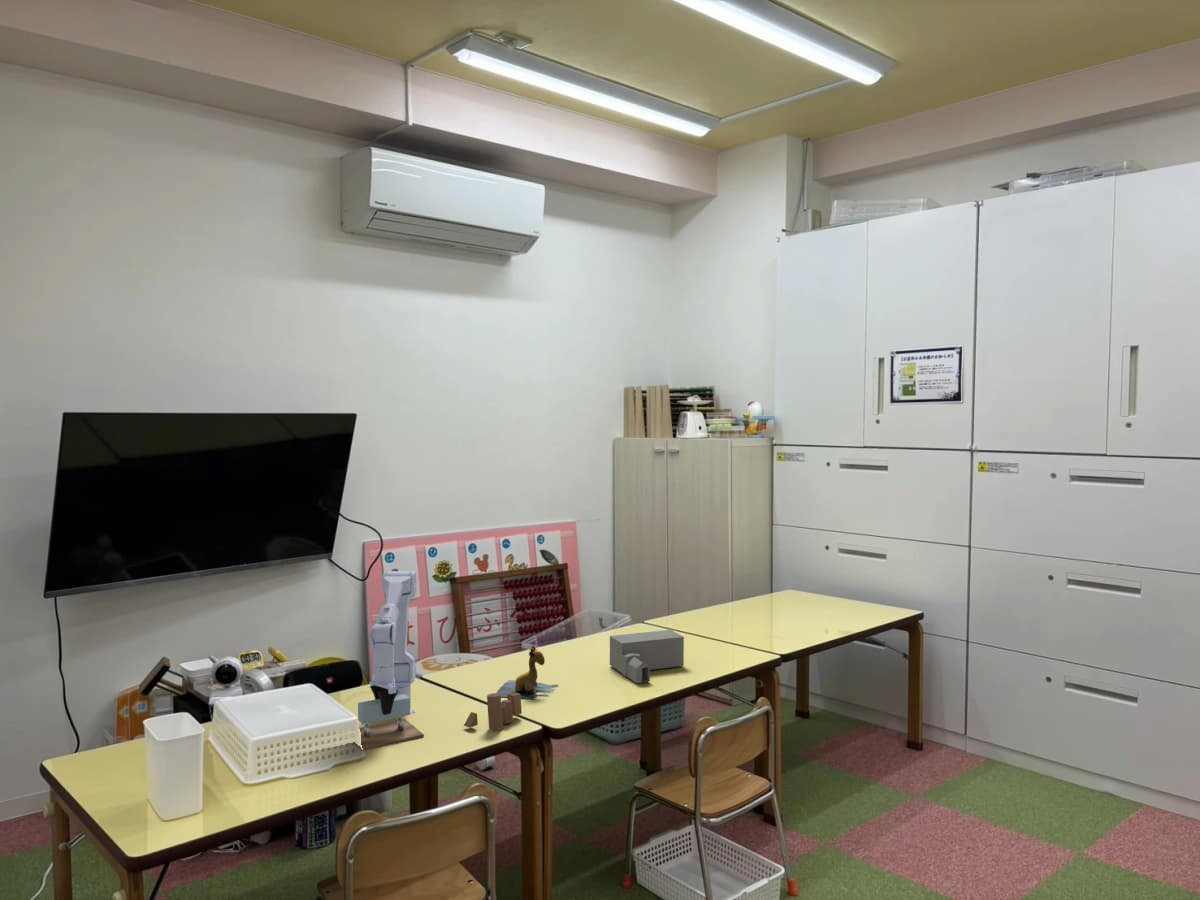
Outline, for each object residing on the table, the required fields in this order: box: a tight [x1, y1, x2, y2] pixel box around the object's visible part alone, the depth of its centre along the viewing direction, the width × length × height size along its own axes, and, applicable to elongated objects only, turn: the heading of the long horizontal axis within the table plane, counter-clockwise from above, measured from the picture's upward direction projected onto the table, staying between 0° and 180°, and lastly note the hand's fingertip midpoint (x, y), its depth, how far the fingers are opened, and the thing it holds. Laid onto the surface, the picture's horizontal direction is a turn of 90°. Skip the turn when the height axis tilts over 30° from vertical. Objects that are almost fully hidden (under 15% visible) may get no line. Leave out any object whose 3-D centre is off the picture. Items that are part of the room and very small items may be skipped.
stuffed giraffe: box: [496, 645, 559, 701], centre depth 291 cm, size 16×18×16 cm
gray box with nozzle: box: [609, 629, 685, 684], centre depth 317 cm, size 25×23×11 cm
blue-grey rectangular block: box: [357, 694, 411, 725], centre depth 251 cm, size 14×4×5 cm, turn 124°
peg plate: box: [359, 717, 425, 751], centre depth 251 cm, size 15×18×4 cm
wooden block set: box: [463, 692, 523, 732], centre depth 259 cm, size 18×9×10 cm, turn 133°
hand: (384, 711), depth 251 cm, fingers closed on blue-grey rectangular block, 4 cm apart
